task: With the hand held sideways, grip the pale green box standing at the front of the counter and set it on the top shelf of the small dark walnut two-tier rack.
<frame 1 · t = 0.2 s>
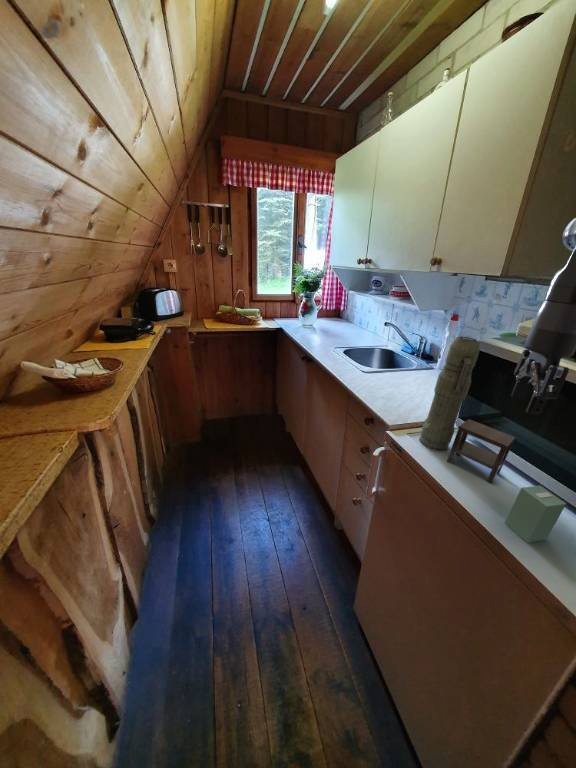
hand: (524, 405, 63), 27 cm above the counter, tool pointing down, fingers open, 8 cm apart
stone statue: (433, 443, 100), on the counter
rack: (472, 467, 89), on the counter
pale green box: (524, 530, 68), on the counter
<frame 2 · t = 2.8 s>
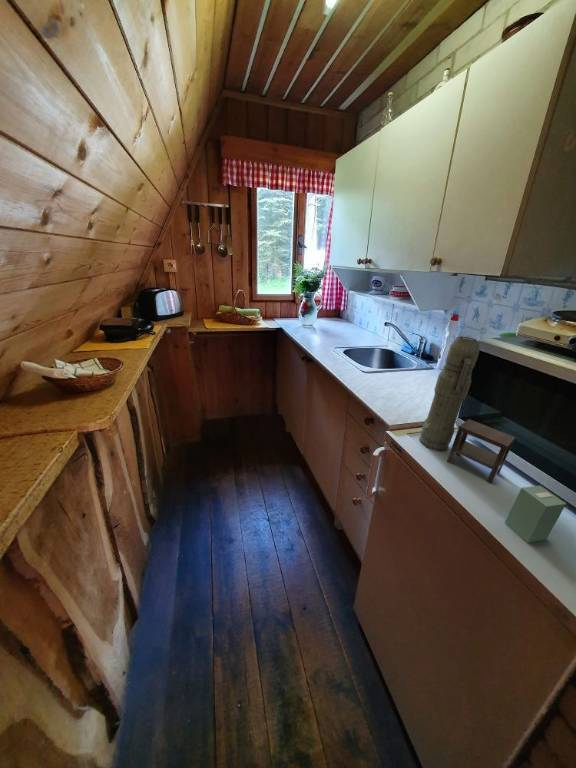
nothing on the counter moved.
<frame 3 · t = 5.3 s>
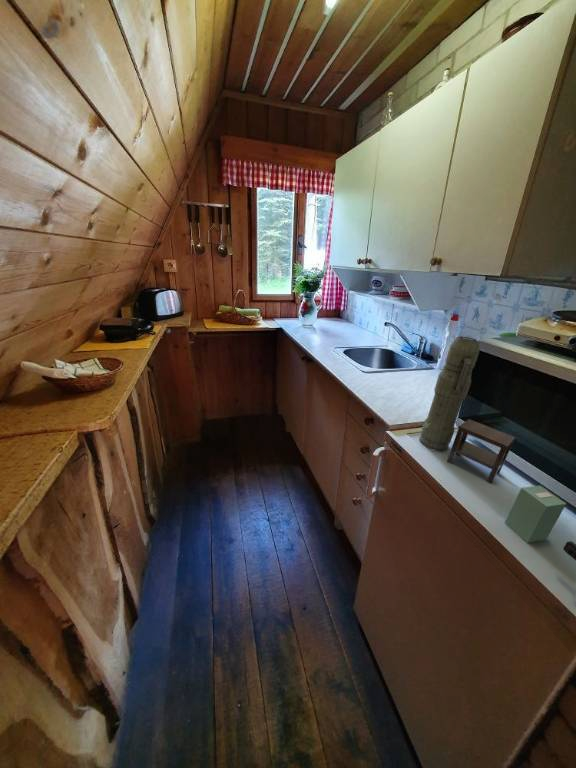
nothing on the counter moved.
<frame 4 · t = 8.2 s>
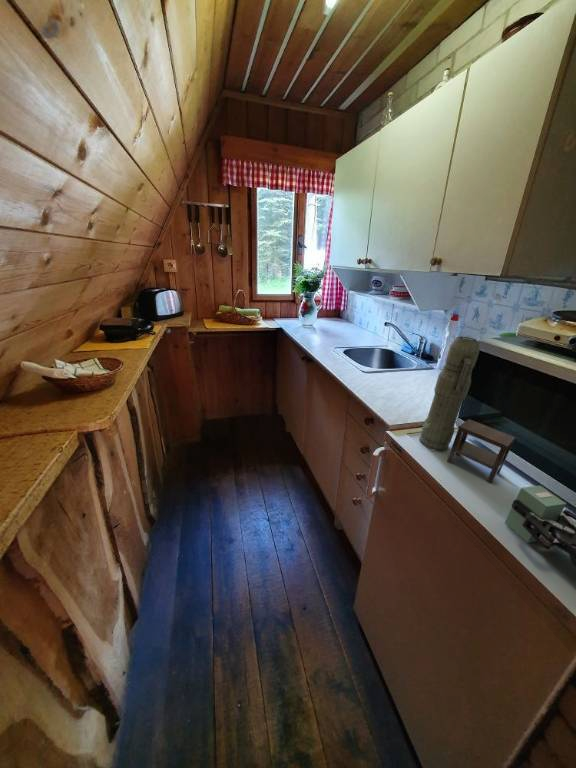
hand: (524, 501, 68), 6 cm above the counter, tool horizontal, fingers closed on pale green box, 5 cm apart
pale green box: (524, 530, 68), on the counter, touching gripper
everything else where it was.
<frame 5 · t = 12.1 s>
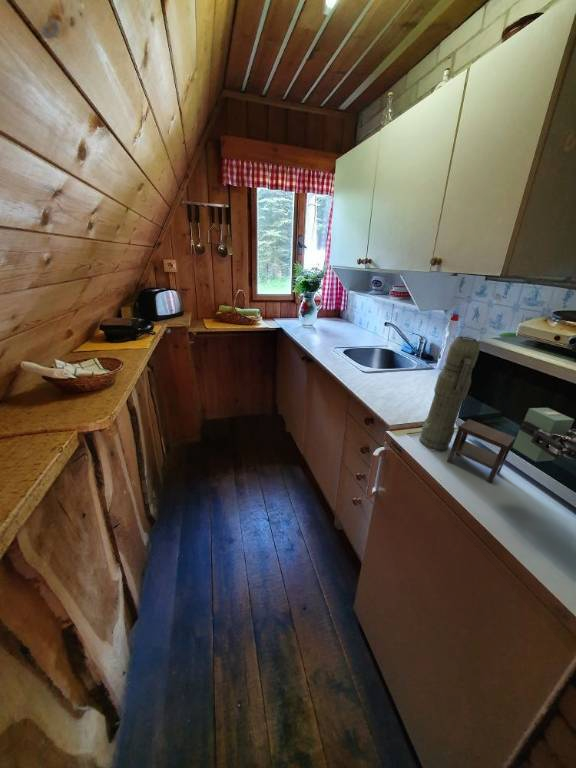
hand: (532, 424, 68), 22 cm above the counter, tool horizontal, fingers closed on pale green box, 5 cm apart
pale green box: (532, 453, 68), point 16 cm above the counter, touching gripper
everything else where it was.
when the fingers open (18 cm above the counter, at t = 16.5 s): pale green box stays where it is, resting on rack.
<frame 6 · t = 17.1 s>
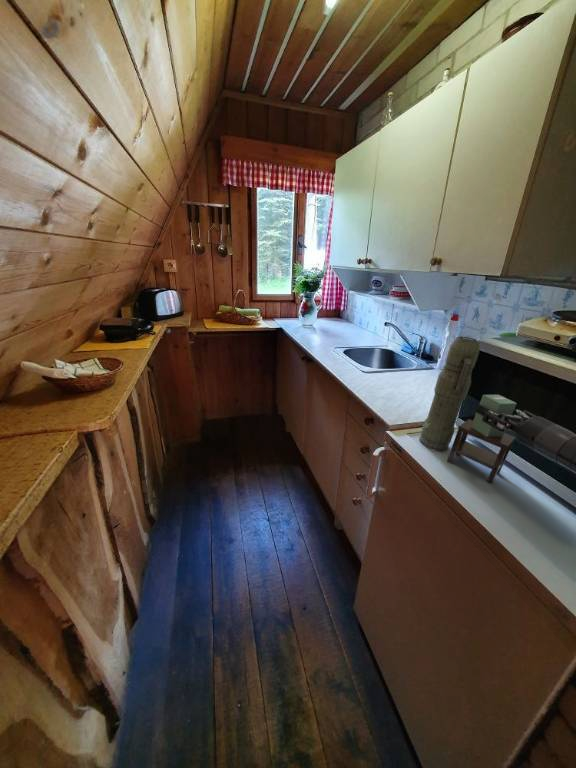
hand: (489, 407, 84), 18 cm above the counter, tool horizontal, fingers open, 8 cm apart
pale green box: (486, 431, 85), point 12 cm above the counter, touching rack
everything else where it was.
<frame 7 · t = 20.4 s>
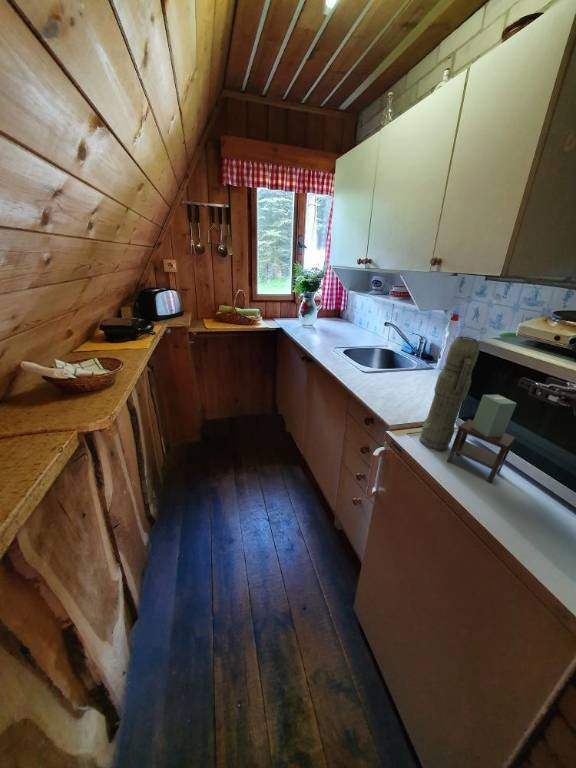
hand: (533, 381, 73), 30 cm above the counter, tool horizontal, fingers open, 8 cm apart
nothing on the counter moved.
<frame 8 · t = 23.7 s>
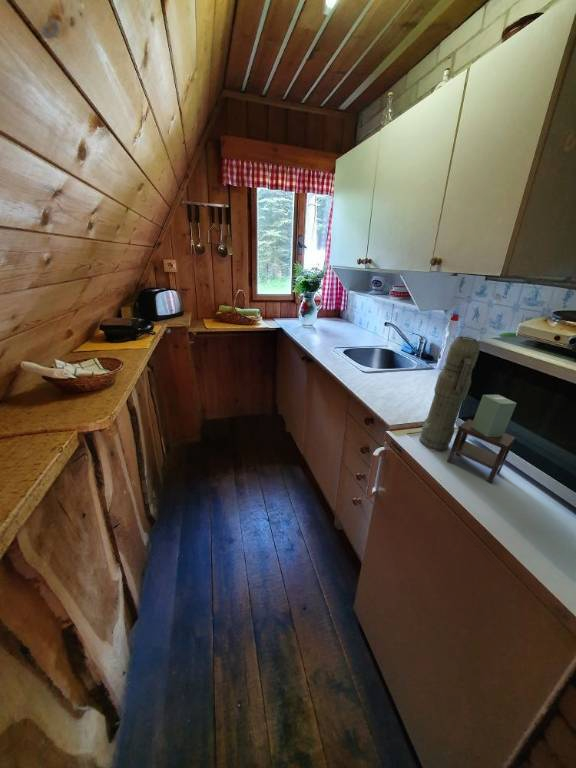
nothing on the counter moved.
at the end: pale green box inside the target area on the rack (0.1 cm from its centre), point 12.0 cm above the rack's base; pale green box tilted 0°; the gripper is holding nothing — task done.
